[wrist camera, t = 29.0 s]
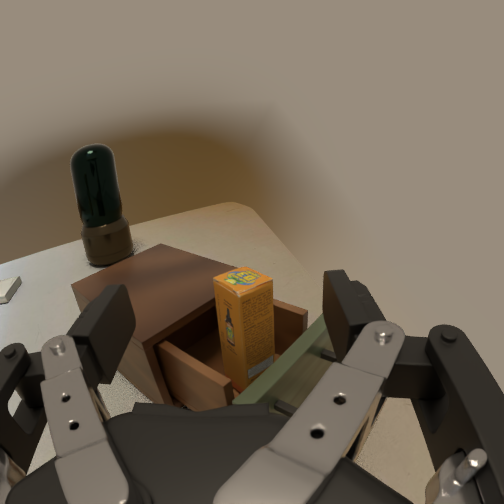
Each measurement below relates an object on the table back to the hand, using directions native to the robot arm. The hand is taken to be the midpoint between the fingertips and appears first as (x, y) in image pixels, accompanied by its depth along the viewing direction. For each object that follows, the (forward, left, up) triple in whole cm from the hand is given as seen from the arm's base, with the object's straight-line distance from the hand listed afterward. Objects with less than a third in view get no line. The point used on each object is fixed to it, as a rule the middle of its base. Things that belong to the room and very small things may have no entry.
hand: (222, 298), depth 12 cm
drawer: (-5, -6, -15) cm, 17 cm away
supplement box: (-5, -7, -14) cm, 16 cm away
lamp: (0, -50, -16) cm, 52 cm away
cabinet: (-1, -18, -16) cm, 24 cm away
